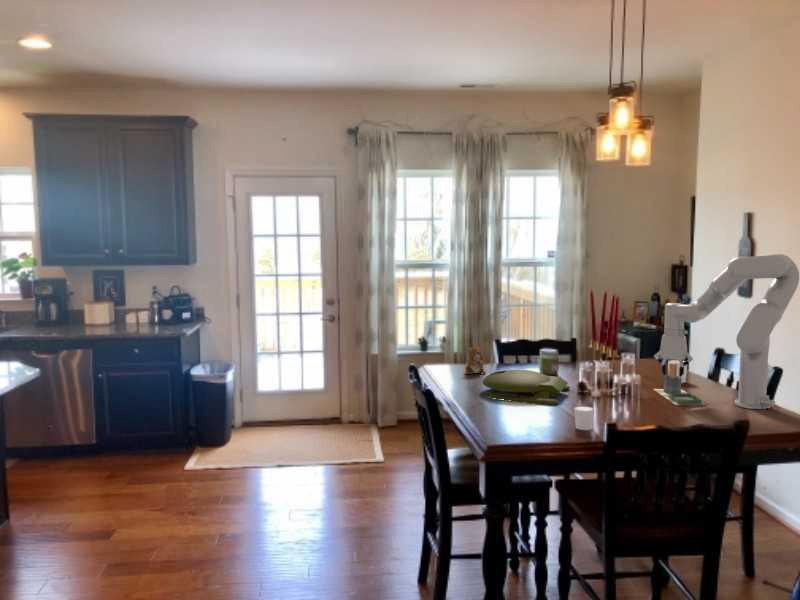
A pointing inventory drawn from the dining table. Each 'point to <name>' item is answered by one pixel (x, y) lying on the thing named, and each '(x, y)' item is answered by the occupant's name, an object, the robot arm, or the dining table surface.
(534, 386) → the spaceship
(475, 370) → the stuffed squirrel
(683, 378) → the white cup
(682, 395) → the stand
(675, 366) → the dowel
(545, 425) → the dining table surface
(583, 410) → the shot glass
